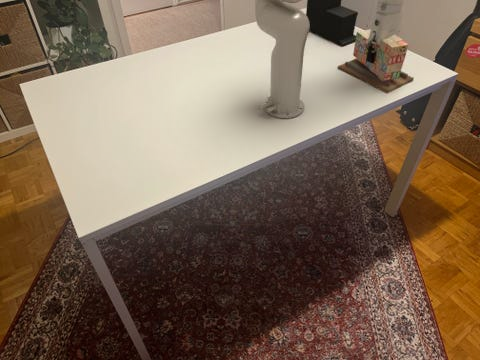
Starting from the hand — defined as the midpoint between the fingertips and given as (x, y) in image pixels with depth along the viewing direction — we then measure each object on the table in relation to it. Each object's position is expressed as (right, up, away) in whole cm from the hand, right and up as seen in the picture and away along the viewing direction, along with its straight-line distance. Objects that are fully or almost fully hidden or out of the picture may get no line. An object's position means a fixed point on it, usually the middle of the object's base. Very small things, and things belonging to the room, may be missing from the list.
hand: (377, 58), depth 131 cm
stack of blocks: (0, -2, +3) cm, 4 cm away
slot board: (0, -4, +4) cm, 6 cm away
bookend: (-9, +20, +31) cm, 38 cm away
